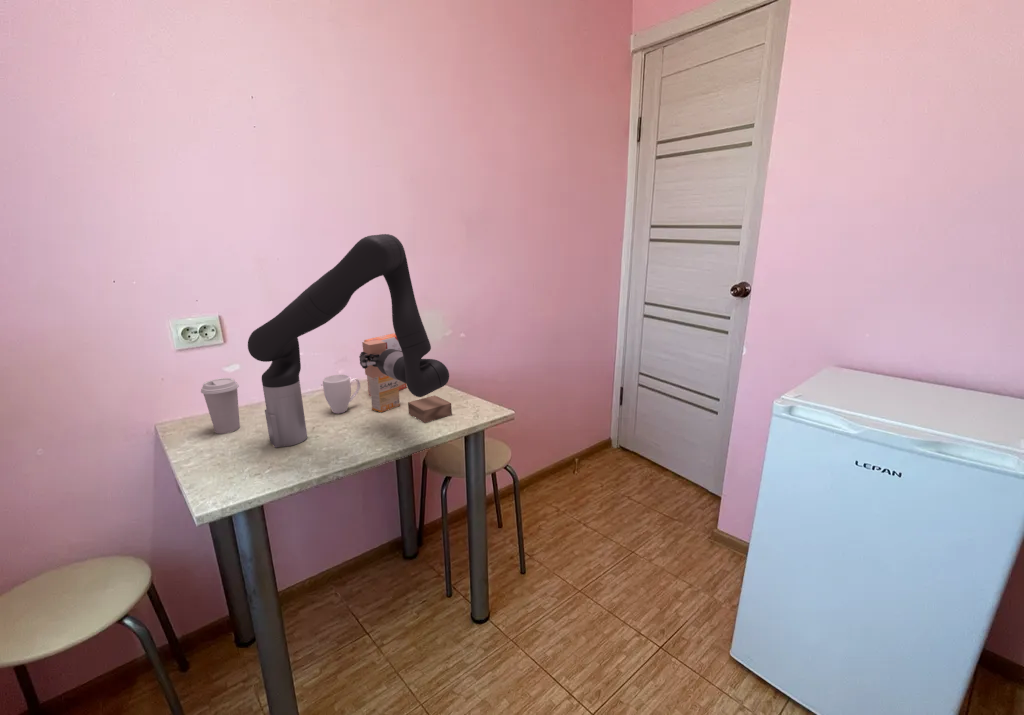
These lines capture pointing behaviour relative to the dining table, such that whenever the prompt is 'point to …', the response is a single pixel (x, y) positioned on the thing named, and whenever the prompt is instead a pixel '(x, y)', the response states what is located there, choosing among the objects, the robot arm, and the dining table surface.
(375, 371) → the terracotta block
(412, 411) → the walnut base
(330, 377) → the mug
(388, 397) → the supplement box
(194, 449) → the dining table surface
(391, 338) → the cracker box
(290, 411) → the robot arm
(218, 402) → the coffee cup
